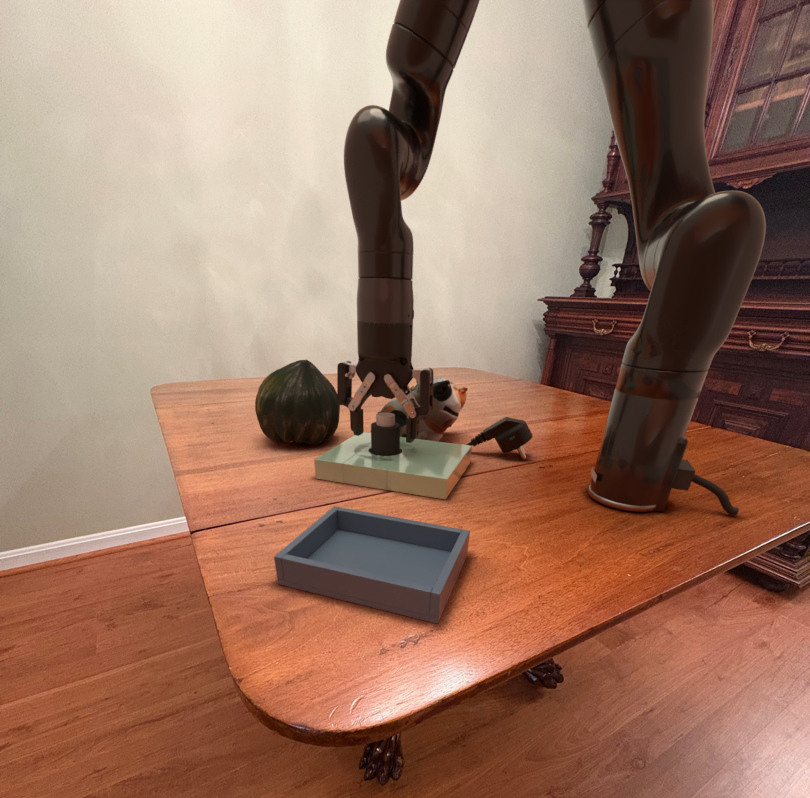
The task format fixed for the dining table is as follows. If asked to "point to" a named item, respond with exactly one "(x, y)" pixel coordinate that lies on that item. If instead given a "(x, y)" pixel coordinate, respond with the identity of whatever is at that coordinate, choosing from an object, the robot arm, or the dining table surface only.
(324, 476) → the drain board
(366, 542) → the blue-grey tray
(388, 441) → the dark brown bottle
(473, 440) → the power plug
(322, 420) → the squash
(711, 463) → the dining table surface
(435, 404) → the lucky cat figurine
